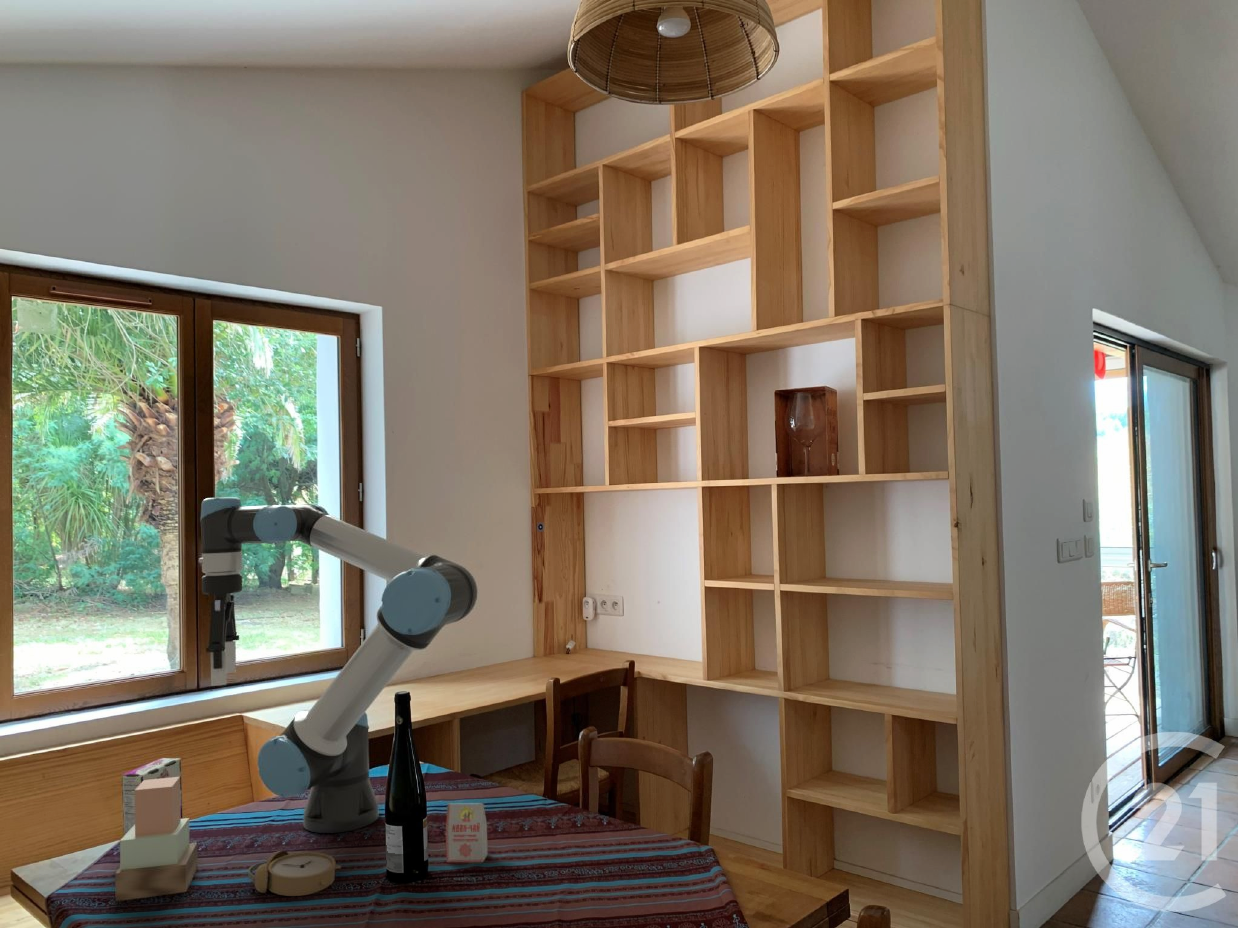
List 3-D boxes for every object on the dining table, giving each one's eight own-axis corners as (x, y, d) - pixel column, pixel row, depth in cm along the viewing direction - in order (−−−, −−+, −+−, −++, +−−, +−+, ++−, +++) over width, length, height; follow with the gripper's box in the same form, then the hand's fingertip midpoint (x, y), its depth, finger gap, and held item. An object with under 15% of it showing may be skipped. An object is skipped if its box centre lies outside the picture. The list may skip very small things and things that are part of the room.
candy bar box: (162, 839, 185) (160, 756, 186) (184, 840, 184) (182, 757, 185) (121, 860, 174) (120, 773, 175) (144, 862, 173) (143, 774, 174)
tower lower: (197, 869, 169) (197, 842, 170) (186, 893, 159) (185, 864, 159) (131, 878, 167) (131, 850, 167) (115, 903, 156) (115, 873, 156)
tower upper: (189, 845, 168) (189, 817, 168) (177, 863, 159) (176, 834, 160) (135, 851, 166) (135, 823, 166) (120, 869, 157) (120, 840, 158)
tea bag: (452, 854, 172) (450, 800, 172) (487, 854, 171) (485, 799, 171) (446, 862, 168) (445, 806, 168) (482, 862, 167) (481, 806, 168)
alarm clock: (323, 879, 155) (237, 865, 156) (319, 909, 155) (232, 894, 156) (346, 854, 166) (265, 840, 167) (342, 881, 166) (261, 867, 167)
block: (180, 821, 167) (180, 776, 167) (172, 832, 161) (172, 786, 161) (144, 824, 165) (143, 779, 165) (135, 836, 159) (134, 789, 160)
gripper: (212, 570, 198) (213, 669, 197) (190, 578, 174) (192, 692, 173) (249, 568, 200) (251, 666, 199) (233, 576, 176) (235, 688, 175)
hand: (224, 678), depth 186 cm, fingers open, 13 cm apart
